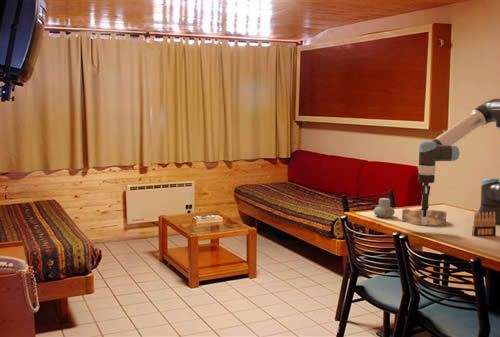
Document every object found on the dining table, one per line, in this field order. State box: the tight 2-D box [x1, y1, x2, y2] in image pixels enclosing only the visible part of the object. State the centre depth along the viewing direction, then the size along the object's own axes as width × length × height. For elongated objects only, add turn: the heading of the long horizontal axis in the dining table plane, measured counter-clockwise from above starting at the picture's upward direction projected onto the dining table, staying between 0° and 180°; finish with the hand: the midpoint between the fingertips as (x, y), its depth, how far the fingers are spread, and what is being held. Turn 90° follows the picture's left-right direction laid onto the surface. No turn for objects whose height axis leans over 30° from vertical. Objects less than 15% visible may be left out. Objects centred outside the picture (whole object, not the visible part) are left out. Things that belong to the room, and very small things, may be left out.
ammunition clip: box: [471, 211, 497, 237], centre depth 255 cm, size 11×2×12 cm, turn 94°
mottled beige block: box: [401, 207, 447, 226], centre depth 262 cm, size 20×4×6 cm, turn 74°
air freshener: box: [373, 197, 395, 219], centre depth 297 cm, size 11×8×10 cm
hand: (424, 222), depth 262 cm, fingers closed on mottled beige block, 4 cm apart
